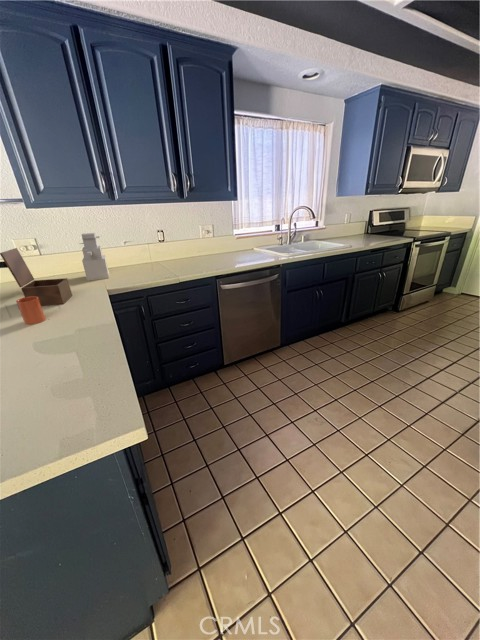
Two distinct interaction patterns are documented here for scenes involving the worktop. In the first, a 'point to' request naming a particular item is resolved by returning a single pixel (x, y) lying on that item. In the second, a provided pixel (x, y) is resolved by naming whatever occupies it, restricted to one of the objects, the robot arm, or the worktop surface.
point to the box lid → (17, 266)
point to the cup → (31, 310)
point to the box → (49, 291)
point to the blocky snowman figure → (93, 258)
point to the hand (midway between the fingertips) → (14, 264)
